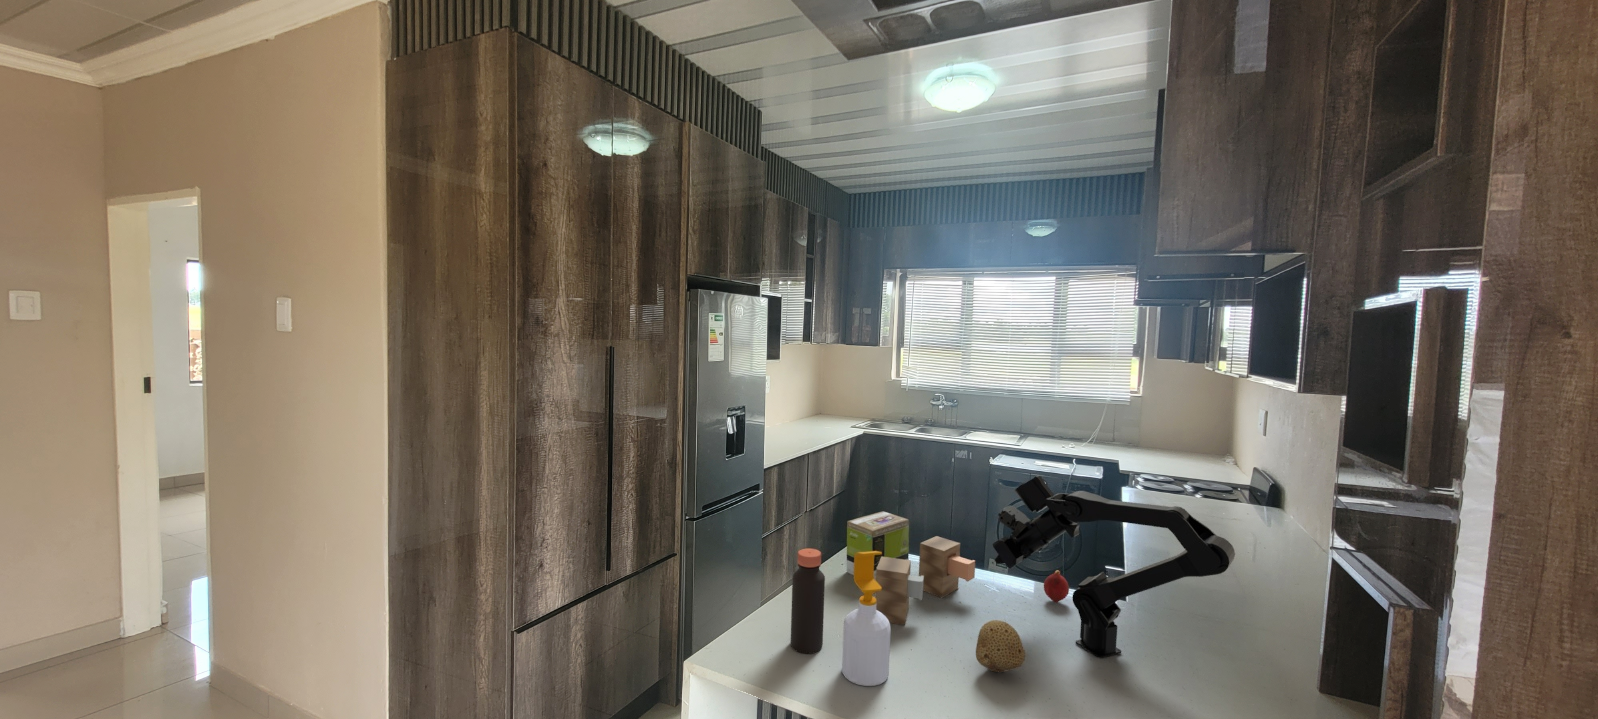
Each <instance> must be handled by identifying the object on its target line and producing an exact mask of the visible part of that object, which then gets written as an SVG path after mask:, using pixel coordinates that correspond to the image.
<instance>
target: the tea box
mask: <svg viewBox="0 0 1598 719" xmlns="http://www.w3.org/2000/svg"><path fill="white" fill-rule="evenodd" d="M846 525H847V526H846V573H847V574H850V575H852V576H854V556H855V553H857V552H870V551H879V552H882V554H880V555H875V556H874V579H875V581H876V569H877V566H878V564H879V561H880V559H881V557H889V558H896V559H904V560H909V553H910V548H909V547H910V544H909V543H910V519H908V518H905V517H903V516H899V515H896V514H892V513H889V512H886V511H884V510H883V511H879V512H875V513H871V514H868V515H864V516H861V517H858V518H854V519H851V520H847V524H846Z"/></svg>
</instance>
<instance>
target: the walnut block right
mask: <svg viewBox="0 0 1598 719" xmlns="http://www.w3.org/2000/svg"><path fill="white" fill-rule="evenodd" d="M952 554H953V555H956V556H959V557H961V542H957V541H954V540H952V539H951V540H950V539H948V538H945V537H940V536H938V535H936V536H934V537H930V538H929V539H927V540H925V541H922V542H920V543H919V561H918V562H919V563H918V576H921V575H922V576H924V583H923V592H926V593H929V594H931V595H934V596H936V597H940V598H941V597H942V598H944V597H946V596H947V595H949V594H952V592H955V591H956V590H957V589H958V590H959V577H956V576H954V575H951V574H948V573H947V565H948V556H950V555H952Z"/></svg>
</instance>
